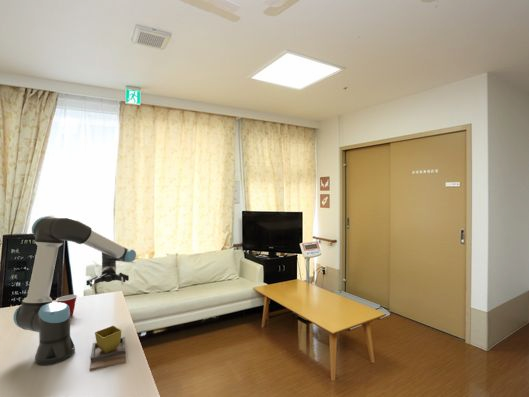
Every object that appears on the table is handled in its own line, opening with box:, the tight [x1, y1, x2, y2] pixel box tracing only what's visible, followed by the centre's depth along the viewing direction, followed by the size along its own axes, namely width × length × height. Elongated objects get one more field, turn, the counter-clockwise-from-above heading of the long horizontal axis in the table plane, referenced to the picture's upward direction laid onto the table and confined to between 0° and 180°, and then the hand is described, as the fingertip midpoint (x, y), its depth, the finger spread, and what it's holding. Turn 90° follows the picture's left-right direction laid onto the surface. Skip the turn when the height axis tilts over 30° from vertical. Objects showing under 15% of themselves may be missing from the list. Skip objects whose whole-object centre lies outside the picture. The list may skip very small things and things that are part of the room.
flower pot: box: [94, 325, 122, 353], centre depth 141 cm, size 9×9×9 cm
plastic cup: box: [55, 294, 78, 318], centre depth 180 cm, size 11×11×12 cm
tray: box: [89, 336, 127, 372], centre depth 139 cm, size 20×14×2 cm
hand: (107, 284), depth 154 cm, fingers open, 13 cm apart
